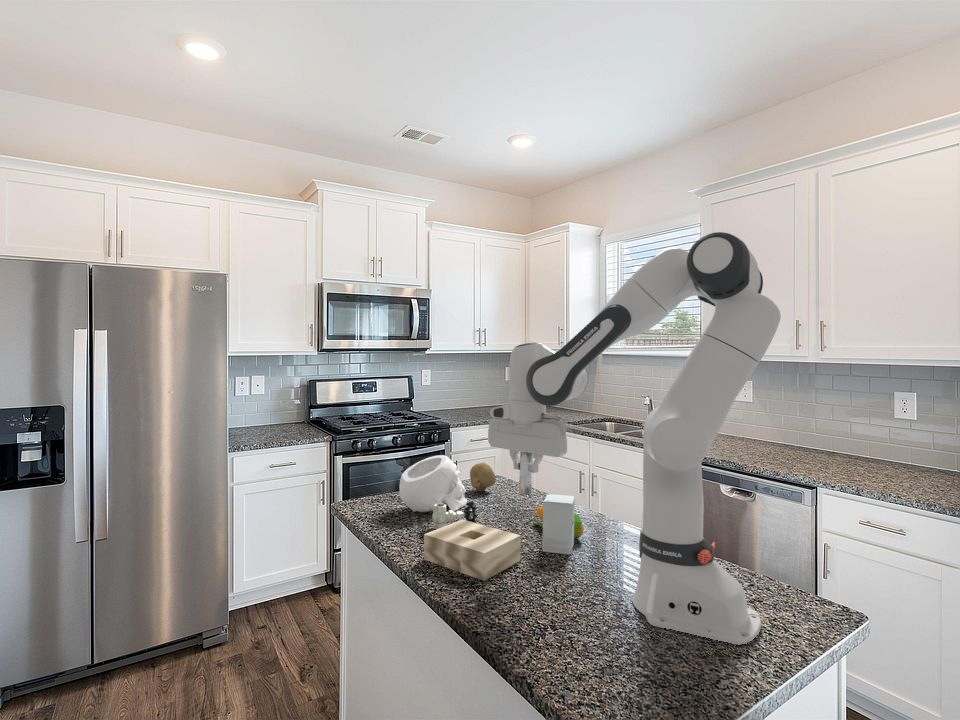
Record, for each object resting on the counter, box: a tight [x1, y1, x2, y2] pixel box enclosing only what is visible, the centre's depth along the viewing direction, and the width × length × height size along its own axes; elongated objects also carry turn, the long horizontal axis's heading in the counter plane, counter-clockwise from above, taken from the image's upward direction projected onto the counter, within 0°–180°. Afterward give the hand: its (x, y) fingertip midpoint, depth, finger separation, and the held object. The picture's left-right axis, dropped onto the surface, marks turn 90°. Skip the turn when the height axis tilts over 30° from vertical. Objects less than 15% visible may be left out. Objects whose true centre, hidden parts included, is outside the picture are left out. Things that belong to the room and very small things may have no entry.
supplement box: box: [541, 493, 576, 556], centre depth 131 cm, size 7×7×13 cm
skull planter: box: [398, 454, 468, 513], centre depth 162 cm, size 14×20×19 cm
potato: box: [469, 462, 497, 492], centre depth 183 cm, size 9×9×10 cm
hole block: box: [423, 519, 522, 582], centre depth 123 cm, size 18×14×6 cm
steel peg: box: [518, 451, 534, 495], centre depth 123 cm, size 3×3×10 cm
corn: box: [534, 505, 585, 540], centre depth 143 cm, size 7×8×20 cm
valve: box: [431, 501, 478, 530], centre depth 146 cm, size 7×7×12 cm
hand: (525, 470), depth 122 cm, fingers closed on steel peg, 3 cm apart
